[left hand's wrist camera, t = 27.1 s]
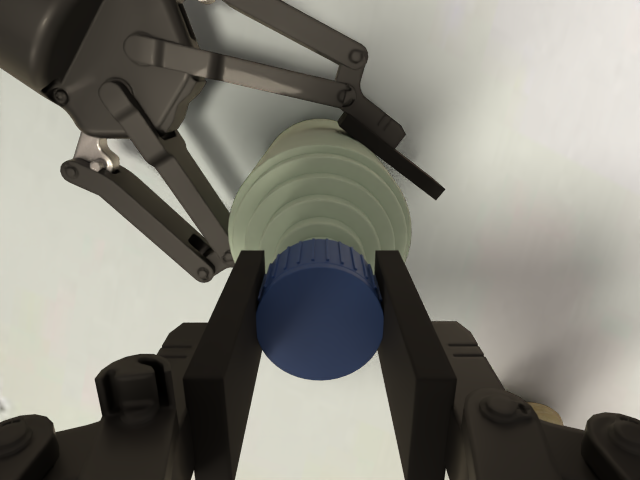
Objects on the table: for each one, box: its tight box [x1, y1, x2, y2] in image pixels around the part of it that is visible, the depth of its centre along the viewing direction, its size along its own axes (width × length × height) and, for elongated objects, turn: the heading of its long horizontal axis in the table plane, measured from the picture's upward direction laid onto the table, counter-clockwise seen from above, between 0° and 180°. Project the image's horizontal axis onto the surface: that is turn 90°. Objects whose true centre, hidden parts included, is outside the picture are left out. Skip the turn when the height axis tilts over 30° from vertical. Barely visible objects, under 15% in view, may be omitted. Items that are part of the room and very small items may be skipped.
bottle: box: [228, 119, 411, 275], centre depth 22 cm, size 8×8×19 cm
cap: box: [256, 238, 384, 380], centre depth 14 cm, size 4×4×2 cm
